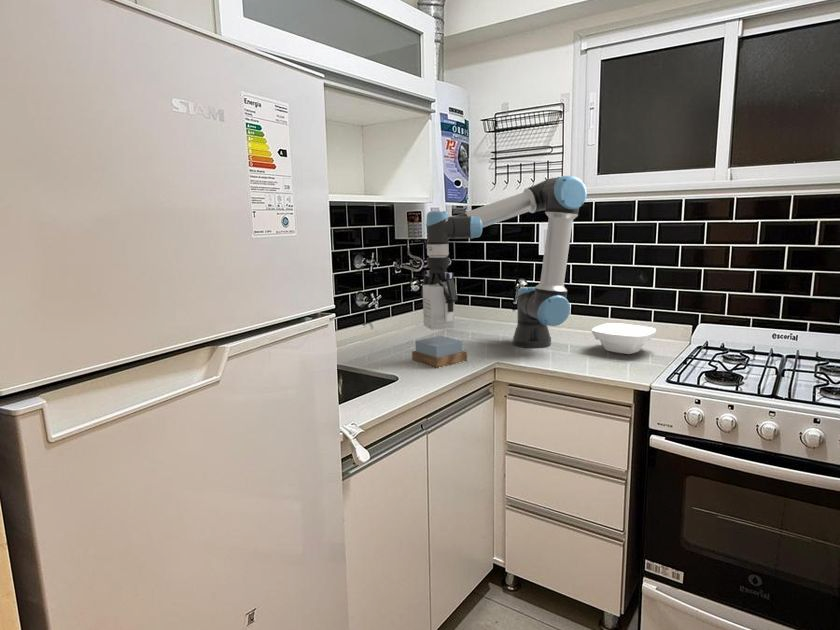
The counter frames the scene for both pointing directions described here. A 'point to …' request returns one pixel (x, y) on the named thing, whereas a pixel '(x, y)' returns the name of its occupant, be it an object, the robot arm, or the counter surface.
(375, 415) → the counter surface
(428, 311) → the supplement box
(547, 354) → the counter surface
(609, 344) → the bowl
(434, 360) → the tower base
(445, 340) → the tower top
